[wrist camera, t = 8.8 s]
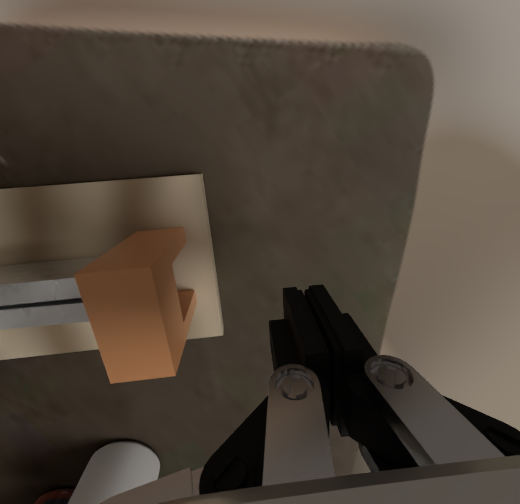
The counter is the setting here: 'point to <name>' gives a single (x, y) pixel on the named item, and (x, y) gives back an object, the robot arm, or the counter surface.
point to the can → (115, 471)
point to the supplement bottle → (56, 497)
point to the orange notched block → (138, 305)
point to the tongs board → (106, 245)
